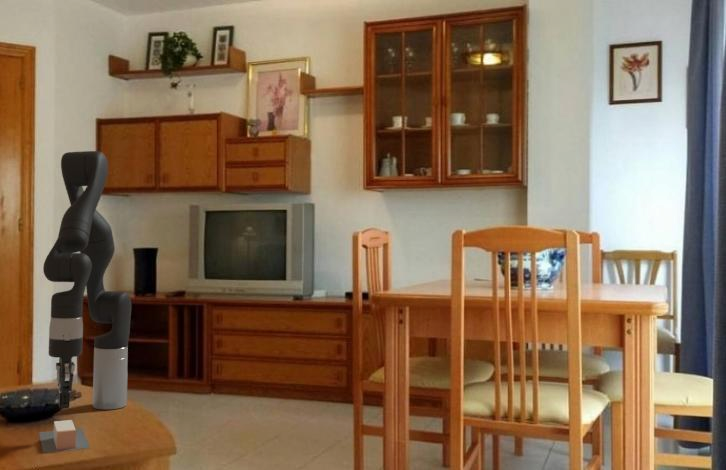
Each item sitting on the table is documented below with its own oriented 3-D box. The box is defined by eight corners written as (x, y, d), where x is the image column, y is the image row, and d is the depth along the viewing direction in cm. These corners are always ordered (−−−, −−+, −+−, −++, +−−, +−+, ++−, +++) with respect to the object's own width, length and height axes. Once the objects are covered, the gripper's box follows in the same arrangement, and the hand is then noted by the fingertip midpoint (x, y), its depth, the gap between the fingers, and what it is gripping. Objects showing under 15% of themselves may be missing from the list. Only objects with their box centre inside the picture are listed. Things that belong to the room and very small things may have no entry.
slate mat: (38, 434, 175) (38, 432, 175) (81, 430, 179) (81, 428, 179) (43, 455, 159) (43, 453, 159) (90, 450, 163) (90, 448, 163)
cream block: (54, 421, 170) (57, 432, 161) (71, 419, 172) (76, 430, 163) (53, 438, 170) (56, 449, 161) (71, 436, 172) (75, 447, 163)
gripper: (47, 332, 174) (45, 402, 174) (51, 340, 162) (48, 415, 162) (79, 331, 177) (77, 400, 177) (85, 339, 166) (83, 412, 166)
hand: (64, 407), depth 170 cm, fingers closed
